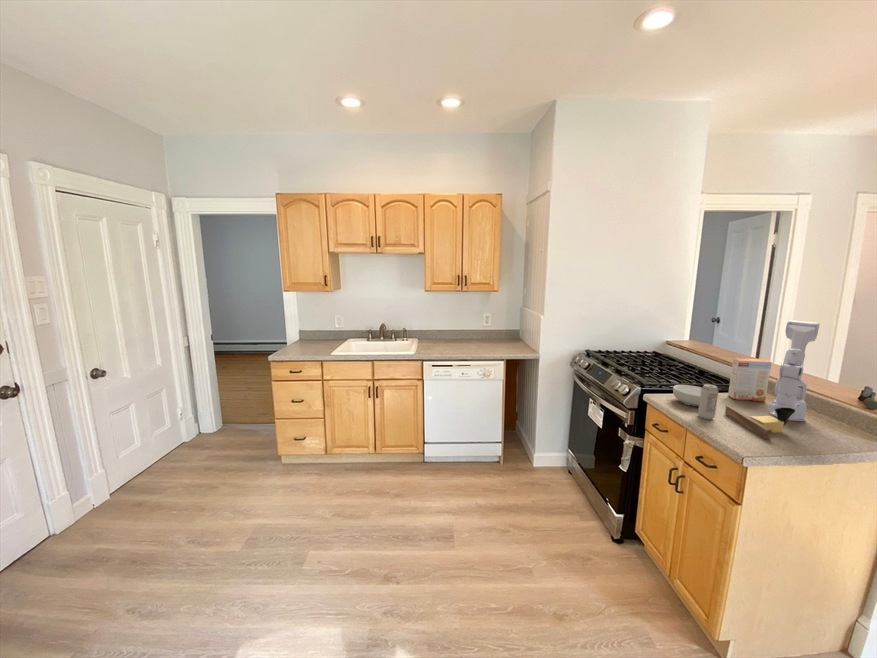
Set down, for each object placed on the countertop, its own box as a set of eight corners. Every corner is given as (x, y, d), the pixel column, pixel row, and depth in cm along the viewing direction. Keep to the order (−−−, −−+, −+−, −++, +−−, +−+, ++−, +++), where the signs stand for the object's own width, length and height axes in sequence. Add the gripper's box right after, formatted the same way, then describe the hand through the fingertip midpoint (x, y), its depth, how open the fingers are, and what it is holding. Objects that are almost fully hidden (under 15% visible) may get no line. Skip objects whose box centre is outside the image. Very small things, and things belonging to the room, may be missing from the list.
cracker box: (758, 397, 185) (764, 358, 181) (765, 402, 179) (772, 362, 176) (726, 395, 188) (732, 357, 184) (733, 399, 183) (739, 360, 179)
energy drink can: (707, 414, 165) (711, 383, 162) (717, 420, 159) (722, 388, 156) (694, 414, 165) (698, 383, 162) (704, 420, 159) (709, 388, 156)
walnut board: (729, 414, 165) (731, 406, 164) (770, 439, 142) (771, 430, 141) (724, 414, 165) (726, 406, 165) (764, 439, 142) (766, 429, 141)
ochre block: (768, 425, 154) (770, 415, 153) (782, 432, 148) (784, 422, 147) (748, 426, 153) (750, 416, 152) (761, 432, 147) (763, 422, 147)
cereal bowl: (720, 411, 168) (722, 397, 167) (680, 408, 172) (682, 394, 170) (701, 398, 185) (703, 385, 183) (666, 396, 188) (667, 383, 187)
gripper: (789, 388, 151) (784, 418, 154) (762, 391, 149) (757, 421, 151) (809, 394, 145) (803, 425, 147) (781, 397, 142) (775, 429, 144)
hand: (781, 424), depth 149 cm, fingers closed, pressing on ochre block
